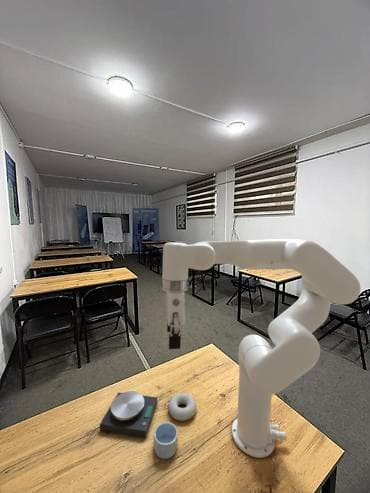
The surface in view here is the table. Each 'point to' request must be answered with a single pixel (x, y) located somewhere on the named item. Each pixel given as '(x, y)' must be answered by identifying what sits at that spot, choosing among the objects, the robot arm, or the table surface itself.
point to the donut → (182, 412)
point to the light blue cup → (165, 440)
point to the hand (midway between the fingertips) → (173, 339)
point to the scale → (131, 421)
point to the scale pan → (127, 405)
